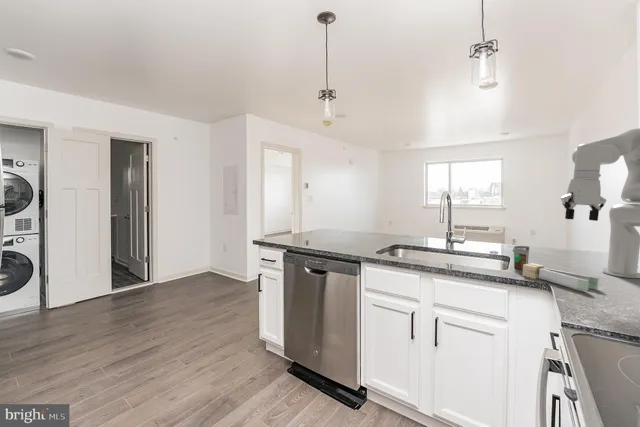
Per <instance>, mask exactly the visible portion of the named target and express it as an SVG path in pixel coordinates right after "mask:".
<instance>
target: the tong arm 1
mask: <svg viewBox="0 0 640 427" xmlns="http://www.w3.org/2000/svg"><path fill="white" fill-rule="evenodd" d="M538 279H539V280H540V279H541V280H543V281H547V282H551V283H553V284H557V285H561V286H564V287H567V288H570V289H573V290H577V291H580V292H584V293H588V292H589V288H588V285H589V280H585V279H580V278H576V277H573V276H569V275H565V274H561V273H557V272H554V271H550V270H546V269H539V278H538Z"/></svg>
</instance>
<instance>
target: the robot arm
mask: <svg viewBox="0 0 640 427" xmlns="http://www.w3.org/2000/svg"><path fill="white" fill-rule="evenodd" d="M622 156H623V159H624V162H625V165H626V168H627V172H628V173H627V177H626V180H625V182H624V185H623V187H622V190H621V195H620V198H621V200H622V201H623V202H626V203H618V204H615V205H612V206H611V207H610V210H609V213H608V214H609V216H608V217H609V223H610V235H609V247H608V248H609V249H608V258H607V267H606V268H603V269H602V272H603V273H604V274H606V275H610V276H615V277H619V278H627V279H640V272H638V269H639V257H640V232H639V231H638V230H637V229H636V227H640V128H639V127H638V128H633V129H628V130H626V131H623V132H621V133H619V134H616V135H615V136H611V137H607V138H603V139H600V140H596V141H594V142H593V141H592V142H590V143H588V142H587V143H582V144H579V145H577V147H576V148H575V150H574V151H573V153H572V156H571V158H572V162H573V164H574V170H573V178H572V179H570V182H569V184H568V186H567V188H568V189H567V192H566V194H565V195H563V196H561V197H560V200H561V202H562V203H561V204H562V205H563V207H564V209H565V217H564V218H565V219H566V220H574V218H575V207H576V206H577V205H578V206H589V208H590V210H589V214H588V215H589V216H588V220H589V221H595V222H597V221H598V220H599V212H600V211H601V210H602V209H603V207H604V206H605V204H606V203H607V199H606V198H604V196H601V180H600V177H601V176H602V175H601V172H600V171H601V165H604V166H605V165H610V164H614V163H616V162H617V161H618V160H619V159H620V157H622Z"/></svg>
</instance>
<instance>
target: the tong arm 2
mask: <svg viewBox="0 0 640 427" xmlns="http://www.w3.org/2000/svg"><path fill="white" fill-rule="evenodd" d="M543 269H546V270H550V271H554V272H557V273H561V274H565V275H569V276H573V277H576V278H580V279H585V280H589V285H588V289H592V290H593V289H594V290H598V289H599V286H600V285H599V282H600V278H599V277H597V276H592V275H585V274H581V273H574V272H570V271H565V270H560V269H552V268H548V267H544V268H543Z"/></svg>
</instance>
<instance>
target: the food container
mask: <svg viewBox="0 0 640 427" xmlns="http://www.w3.org/2000/svg"><path fill="white" fill-rule="evenodd" d="M512 252H513V263H514V264H513V267H514V269H515V270H518V271H522V272H523V265H524V264H529V258H530V257H529V256H530V255H529V254H530V246H527V245H514V246H513V248H512Z"/></svg>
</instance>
